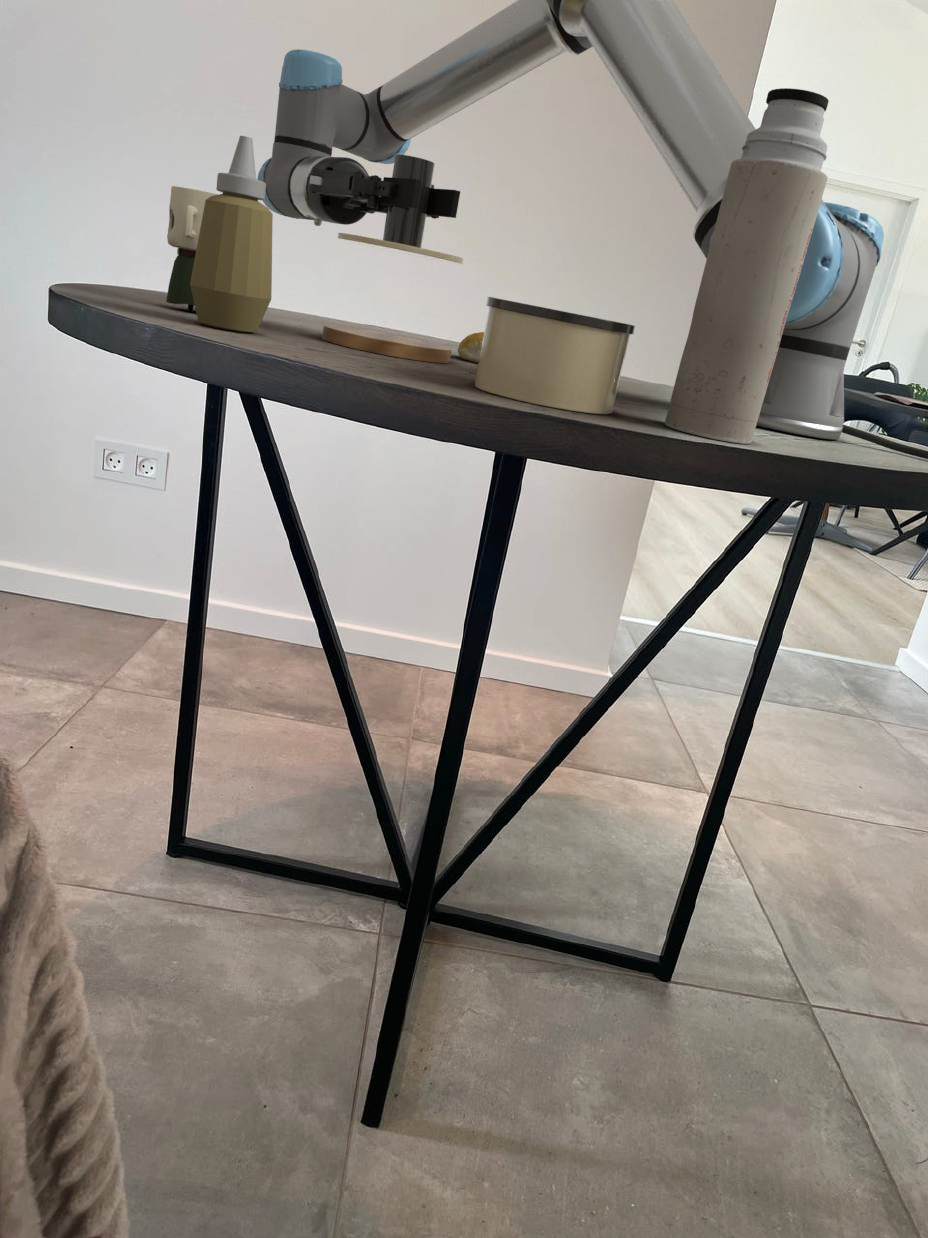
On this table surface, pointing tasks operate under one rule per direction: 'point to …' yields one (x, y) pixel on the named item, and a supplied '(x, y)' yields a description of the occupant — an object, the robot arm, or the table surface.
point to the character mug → (184, 240)
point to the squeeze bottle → (234, 249)
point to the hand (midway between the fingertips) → (436, 198)
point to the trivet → (386, 344)
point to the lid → (407, 216)
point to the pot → (552, 357)
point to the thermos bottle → (752, 270)
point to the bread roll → (471, 347)
